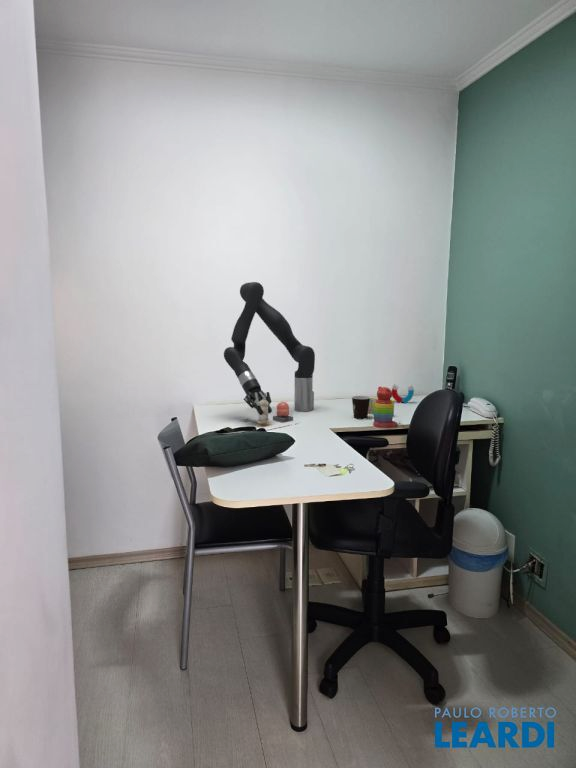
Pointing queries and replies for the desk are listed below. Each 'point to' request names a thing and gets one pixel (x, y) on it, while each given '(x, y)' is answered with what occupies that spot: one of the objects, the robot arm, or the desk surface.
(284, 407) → the dome
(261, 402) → the pawn
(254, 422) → the game board
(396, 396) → the magnet
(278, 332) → the robot arm
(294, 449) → the desk surface
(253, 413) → the desk surface
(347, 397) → the desk surface
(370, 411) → the candy box
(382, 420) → the stacking bear
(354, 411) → the coffee mug
